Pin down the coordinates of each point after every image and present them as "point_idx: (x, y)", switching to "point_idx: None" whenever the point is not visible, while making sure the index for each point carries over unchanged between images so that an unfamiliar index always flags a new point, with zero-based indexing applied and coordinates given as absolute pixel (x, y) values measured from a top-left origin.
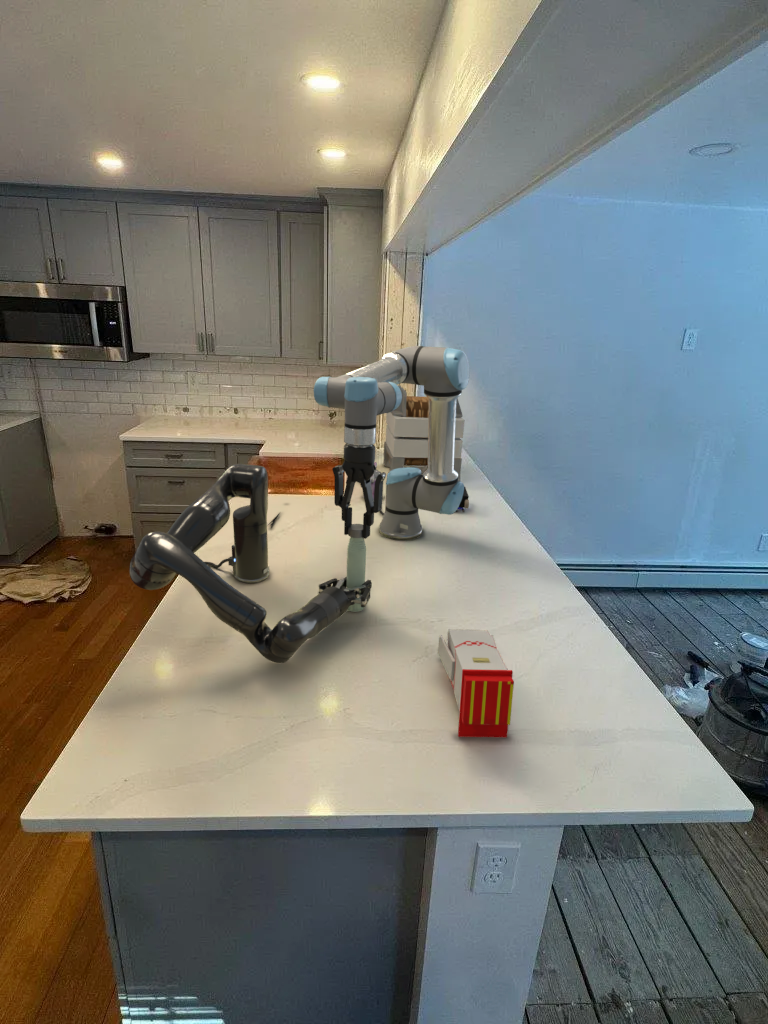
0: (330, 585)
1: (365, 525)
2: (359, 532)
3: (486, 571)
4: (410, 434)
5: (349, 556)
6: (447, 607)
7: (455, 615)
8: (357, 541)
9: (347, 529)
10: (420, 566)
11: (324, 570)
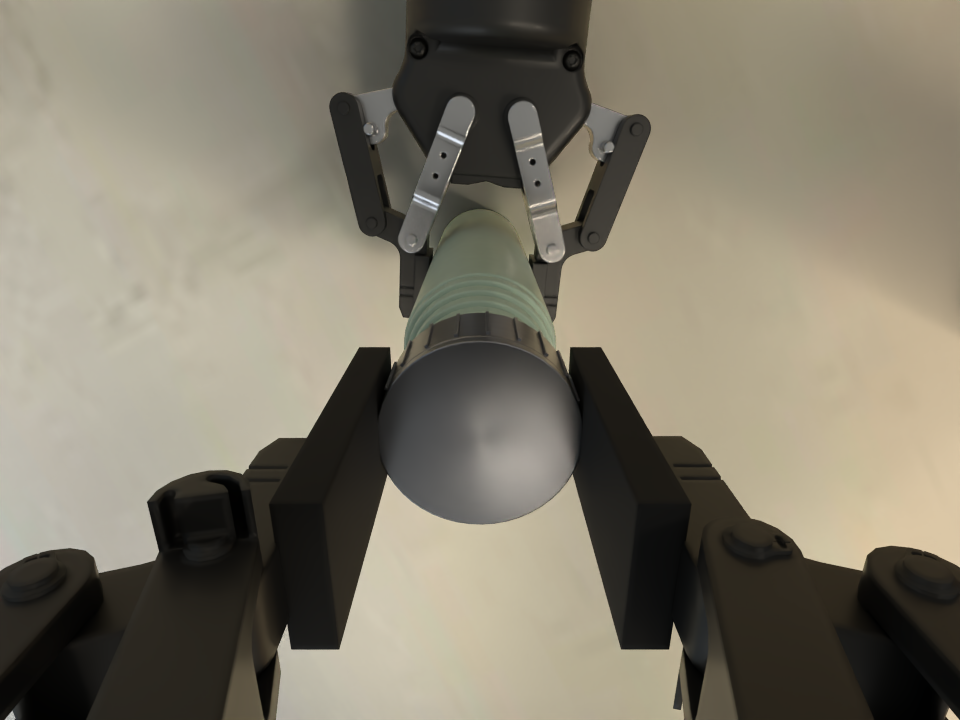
0: (595, 186)
1: (327, 410)
2: (414, 355)
3: None
4: None
5: (507, 267)
6: (147, 424)
7: (89, 381)
8: None
9: (578, 379)
10: (394, 659)
11: (739, 479)
